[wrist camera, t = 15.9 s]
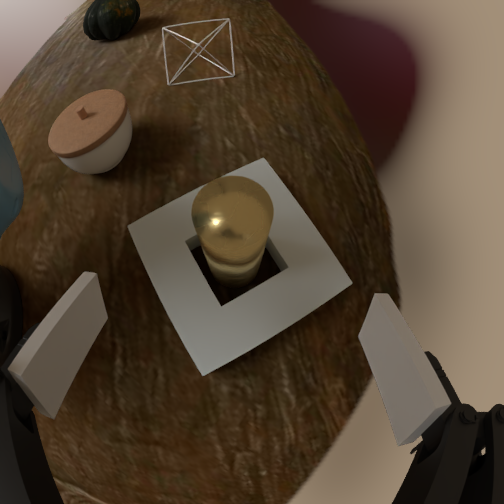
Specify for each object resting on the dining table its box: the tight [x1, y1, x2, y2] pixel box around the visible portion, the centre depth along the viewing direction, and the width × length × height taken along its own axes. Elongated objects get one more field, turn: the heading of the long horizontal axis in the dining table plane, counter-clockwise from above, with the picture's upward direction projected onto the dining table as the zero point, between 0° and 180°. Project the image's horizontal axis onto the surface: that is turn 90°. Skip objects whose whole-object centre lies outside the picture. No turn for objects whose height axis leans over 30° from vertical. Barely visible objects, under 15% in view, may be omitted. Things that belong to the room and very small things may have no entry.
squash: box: [83, 0, 140, 40], centre depth 39 cm, size 14×15×15 cm
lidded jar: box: [48, 89, 132, 174], centre depth 27 cm, size 11×11×9 cm
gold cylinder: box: [191, 176, 274, 288], centre depth 22 cm, size 5×5×12 cm
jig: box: [127, 158, 352, 376], centre depth 27 cm, size 16×16×3 cm
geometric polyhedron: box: [162, 18, 235, 86], centre depth 34 cm, size 12×11×9 cm
